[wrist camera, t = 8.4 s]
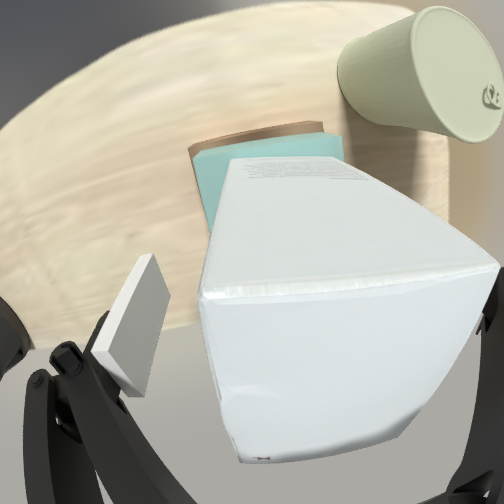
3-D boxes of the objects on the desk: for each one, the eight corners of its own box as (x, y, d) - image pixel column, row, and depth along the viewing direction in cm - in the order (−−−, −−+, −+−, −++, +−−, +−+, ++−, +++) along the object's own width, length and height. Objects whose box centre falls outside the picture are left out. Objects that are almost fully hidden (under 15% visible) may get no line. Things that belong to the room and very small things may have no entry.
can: (410, 138, 22) (499, 167, 11) (328, 107, 21) (405, 108, 10) (424, 60, 18) (512, 55, 7) (344, 22, 16) (418, -24, 6)
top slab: (225, 258, 23) (224, 285, 19) (200, 150, 19) (192, 158, 15) (330, 239, 23) (347, 263, 19) (322, 131, 18) (341, 136, 15)
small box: (327, 269, 19) (399, 440, 7) (238, 275, 19) (236, 467, 7) (334, 153, 15) (509, 263, 4) (228, 155, 15) (180, 295, 4)
